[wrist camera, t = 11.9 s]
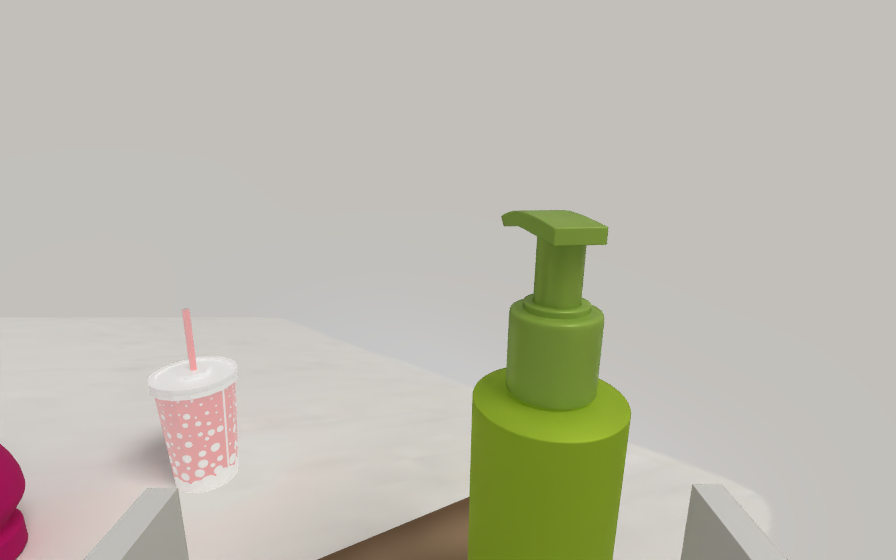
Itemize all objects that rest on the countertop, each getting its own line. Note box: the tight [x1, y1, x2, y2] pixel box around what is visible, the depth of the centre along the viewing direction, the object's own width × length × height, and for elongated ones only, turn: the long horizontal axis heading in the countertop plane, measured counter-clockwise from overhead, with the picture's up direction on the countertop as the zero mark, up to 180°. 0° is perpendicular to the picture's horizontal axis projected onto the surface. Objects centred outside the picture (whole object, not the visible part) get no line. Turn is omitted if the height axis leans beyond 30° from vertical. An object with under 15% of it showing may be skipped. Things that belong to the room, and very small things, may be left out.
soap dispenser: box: [468, 210, 631, 560], centre depth 19 cm, size 6×7×20 cm
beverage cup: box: [148, 308, 239, 493], centre depth 37 cm, size 6×6×14 cm
